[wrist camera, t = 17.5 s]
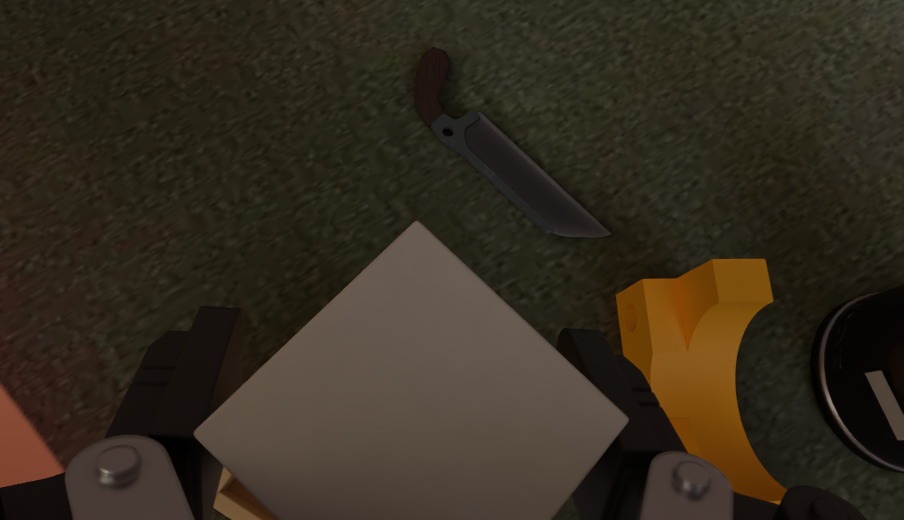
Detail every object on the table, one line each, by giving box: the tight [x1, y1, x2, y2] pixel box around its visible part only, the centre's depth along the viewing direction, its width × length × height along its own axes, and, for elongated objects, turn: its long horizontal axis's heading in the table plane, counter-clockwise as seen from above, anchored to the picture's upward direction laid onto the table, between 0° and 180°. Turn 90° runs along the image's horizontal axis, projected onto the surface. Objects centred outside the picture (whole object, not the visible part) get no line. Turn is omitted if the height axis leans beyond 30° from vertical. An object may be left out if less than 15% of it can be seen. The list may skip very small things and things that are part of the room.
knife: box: [414, 47, 611, 238], centre depth 36 cm, size 14×4×1 cm, turn 47°
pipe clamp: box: [616, 259, 787, 504], centre depth 31 cm, size 12×4×6 cm, turn 3°
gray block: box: [194, 221, 629, 520], centre depth 14 cm, size 4×4×9 cm
